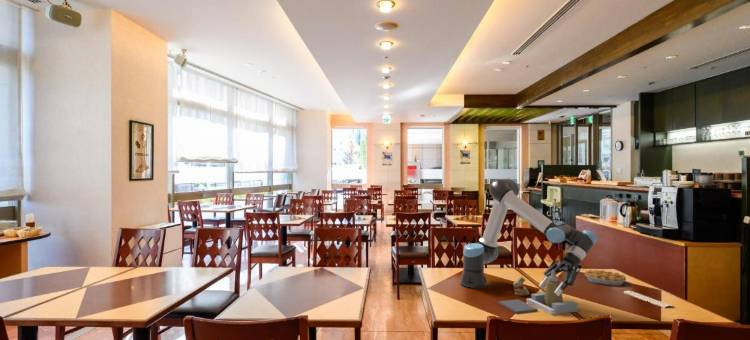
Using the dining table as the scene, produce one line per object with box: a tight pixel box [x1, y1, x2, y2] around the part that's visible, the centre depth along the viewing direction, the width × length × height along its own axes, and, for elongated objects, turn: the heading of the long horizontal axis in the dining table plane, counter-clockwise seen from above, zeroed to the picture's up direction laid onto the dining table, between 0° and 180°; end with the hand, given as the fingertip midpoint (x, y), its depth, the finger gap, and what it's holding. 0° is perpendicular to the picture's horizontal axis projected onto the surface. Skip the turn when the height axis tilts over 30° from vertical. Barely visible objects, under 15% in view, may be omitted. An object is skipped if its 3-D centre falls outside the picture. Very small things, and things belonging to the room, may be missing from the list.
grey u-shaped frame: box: [525, 292, 578, 316], centre depth 179 cm, size 17×15×4 cm
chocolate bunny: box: [512, 276, 530, 297], centre depth 198 cm, size 6×8×10 cm
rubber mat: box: [497, 298, 539, 315], centre depth 178 cm, size 14×12×1 cm
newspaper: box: [623, 290, 675, 309], centre depth 190 cm, size 24×7×2 cm, turn 10°
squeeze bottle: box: [544, 270, 564, 308], centre depth 179 cm, size 8×8×18 cm
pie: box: [584, 269, 627, 286], centre depth 224 cm, size 22×22×5 cm
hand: (548, 290), depth 178 cm, fingers open, 10 cm apart
